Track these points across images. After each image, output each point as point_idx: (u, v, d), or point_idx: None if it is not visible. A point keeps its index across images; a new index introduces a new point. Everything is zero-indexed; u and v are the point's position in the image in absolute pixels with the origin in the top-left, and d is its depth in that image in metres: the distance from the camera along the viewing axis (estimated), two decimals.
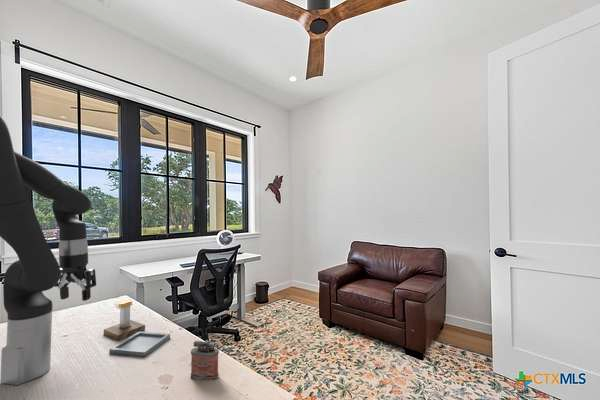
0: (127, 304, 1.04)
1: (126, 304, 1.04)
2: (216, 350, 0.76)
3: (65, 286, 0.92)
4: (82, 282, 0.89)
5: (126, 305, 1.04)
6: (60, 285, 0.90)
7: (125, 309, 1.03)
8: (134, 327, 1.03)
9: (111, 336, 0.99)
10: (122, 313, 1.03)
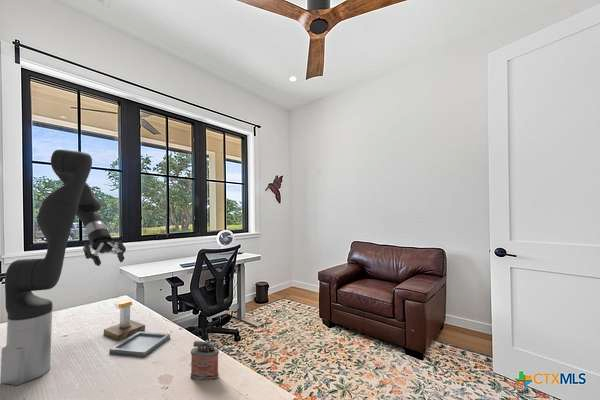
0: (127, 304, 1.04)
1: (126, 304, 1.04)
2: (216, 350, 0.76)
3: None
4: None
5: (126, 305, 1.04)
6: (96, 253, 1.08)
7: (125, 309, 1.03)
8: (134, 327, 1.03)
9: (111, 336, 0.99)
10: (122, 313, 1.03)
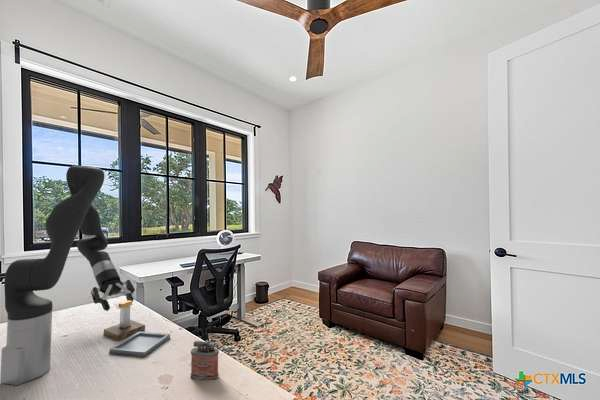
0: (127, 304, 1.04)
1: (126, 304, 1.04)
2: (216, 350, 0.76)
3: None
4: None
5: (126, 305, 1.04)
6: (104, 297, 1.03)
7: (125, 309, 1.03)
8: (134, 327, 1.03)
9: (111, 336, 0.99)
10: (122, 313, 1.03)
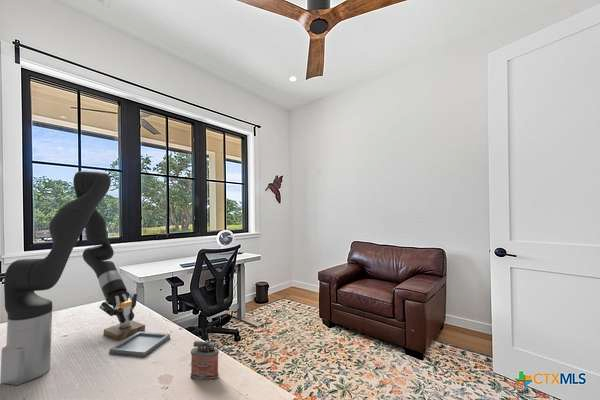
0: (127, 304, 1.04)
1: (126, 304, 1.04)
2: (216, 350, 0.76)
3: None
4: None
5: (126, 305, 1.04)
6: (120, 309, 1.03)
7: (125, 309, 1.03)
8: (134, 327, 1.03)
9: (111, 336, 0.99)
10: None
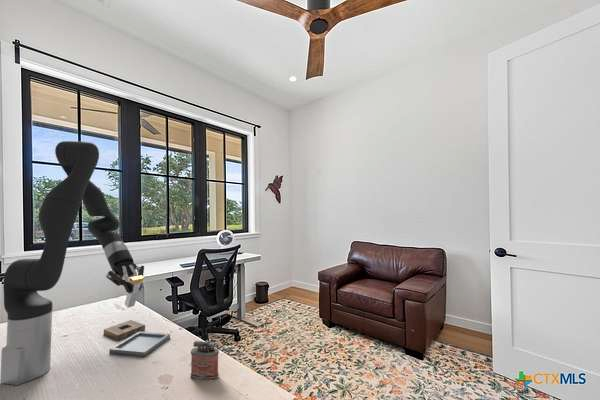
0: (139, 280, 0.99)
1: (138, 280, 0.98)
2: (216, 350, 0.76)
3: None
4: None
5: (137, 281, 0.98)
6: (127, 279, 0.99)
7: (135, 285, 0.98)
8: (134, 327, 1.03)
9: (111, 336, 0.99)
10: None
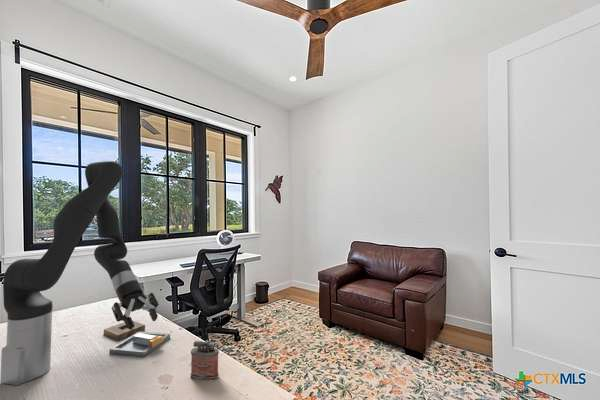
0: None
1: None
2: (216, 350, 0.76)
3: None
4: None
5: None
6: (128, 313, 0.91)
7: None
8: (134, 327, 1.03)
9: (111, 336, 0.99)
10: (146, 343, 0.91)
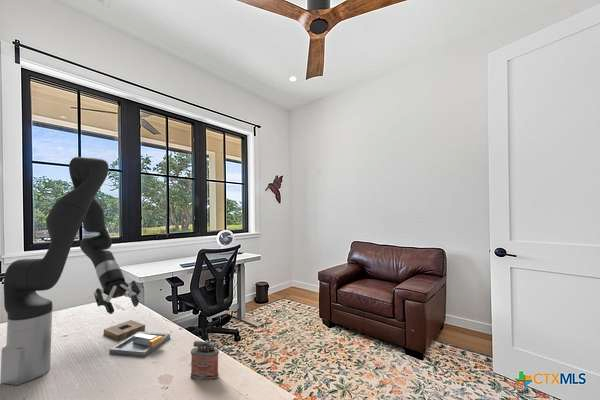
0: None
1: None
2: (216, 350, 0.76)
3: None
4: None
5: None
6: (108, 299, 0.97)
7: None
8: (134, 327, 1.03)
9: (111, 336, 0.99)
10: (146, 343, 0.91)
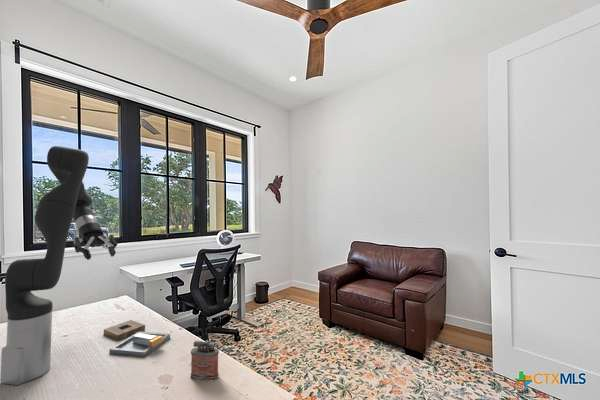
0: None
1: None
2: (216, 350, 0.76)
3: None
4: None
5: None
6: (86, 246, 1.06)
7: None
8: (134, 327, 1.03)
9: (111, 336, 0.99)
10: (146, 343, 0.91)
